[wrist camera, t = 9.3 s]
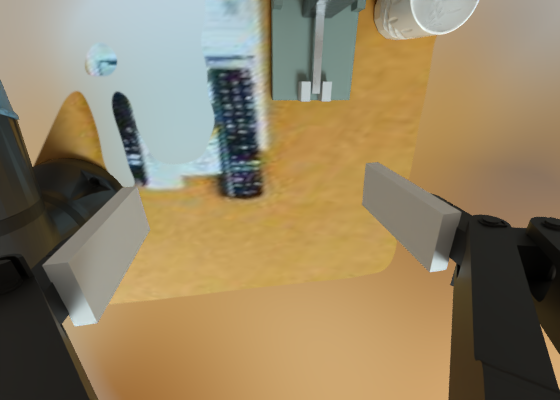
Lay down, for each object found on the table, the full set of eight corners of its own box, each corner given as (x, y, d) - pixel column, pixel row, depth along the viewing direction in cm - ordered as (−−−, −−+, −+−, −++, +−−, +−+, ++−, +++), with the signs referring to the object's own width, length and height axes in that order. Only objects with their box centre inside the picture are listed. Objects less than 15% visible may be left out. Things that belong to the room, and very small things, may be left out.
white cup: (406, 53, 38) (455, 46, 29) (359, 31, 37) (396, 16, 28) (436, -9, 36) (500, -39, 27) (386, -37, 34) (438, -79, 25)
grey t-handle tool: (297, 92, 37) (316, 98, 27) (302, -90, 29) (332, -178, 19) (328, 92, 37) (358, 98, 27) (341, -87, 30) (390, -172, 20)
